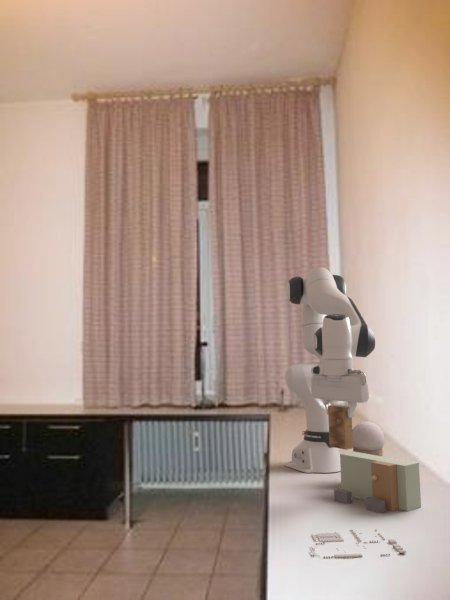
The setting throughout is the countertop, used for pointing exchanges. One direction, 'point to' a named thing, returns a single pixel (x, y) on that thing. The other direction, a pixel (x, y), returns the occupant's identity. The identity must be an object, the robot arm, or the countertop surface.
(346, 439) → the wooden block with peg
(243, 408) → the countertop surface
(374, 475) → the cabinet
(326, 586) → the countertop surface
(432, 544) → the countertop surface
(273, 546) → the countertop surface
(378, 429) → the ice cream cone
